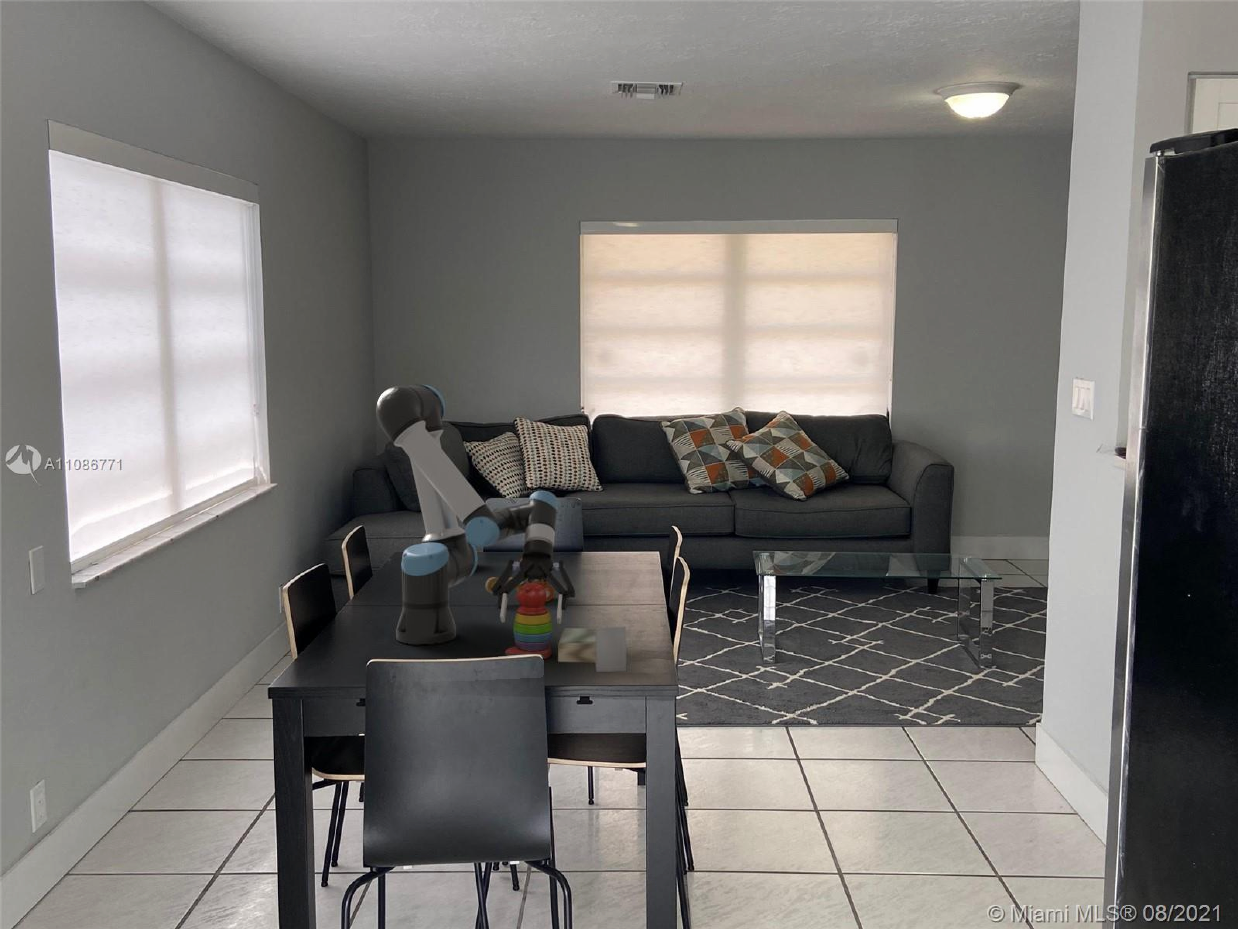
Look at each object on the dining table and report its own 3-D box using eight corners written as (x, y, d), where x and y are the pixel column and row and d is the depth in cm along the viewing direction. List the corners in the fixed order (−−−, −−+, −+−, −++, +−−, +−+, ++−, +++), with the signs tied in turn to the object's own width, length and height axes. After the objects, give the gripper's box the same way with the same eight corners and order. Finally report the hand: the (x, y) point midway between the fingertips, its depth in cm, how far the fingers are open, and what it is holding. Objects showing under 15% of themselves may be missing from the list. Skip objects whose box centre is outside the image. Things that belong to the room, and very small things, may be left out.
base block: (558, 661, 258) (558, 641, 257) (563, 647, 270) (563, 627, 269) (608, 663, 257) (608, 642, 256) (611, 648, 269) (612, 628, 268)
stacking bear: (530, 646, 270) (530, 576, 268) (562, 653, 265) (562, 581, 262) (501, 656, 262) (500, 584, 260) (533, 664, 256) (533, 590, 254)
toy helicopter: (557, 600, 317) (557, 554, 315) (493, 610, 306) (492, 562, 304) (543, 595, 324) (543, 549, 322) (480, 603, 313) (480, 557, 311)
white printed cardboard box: (625, 671, 251) (626, 629, 250) (596, 672, 250) (597, 629, 249) (624, 666, 255) (624, 624, 253) (595, 667, 254) (595, 625, 253)
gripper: (589, 555, 275) (583, 629, 262) (491, 553, 277) (481, 626, 263) (587, 538, 269) (581, 613, 256) (487, 537, 271) (476, 611, 258)
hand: (530, 620), depth 260 cm, fingers open, 13 cm apart
